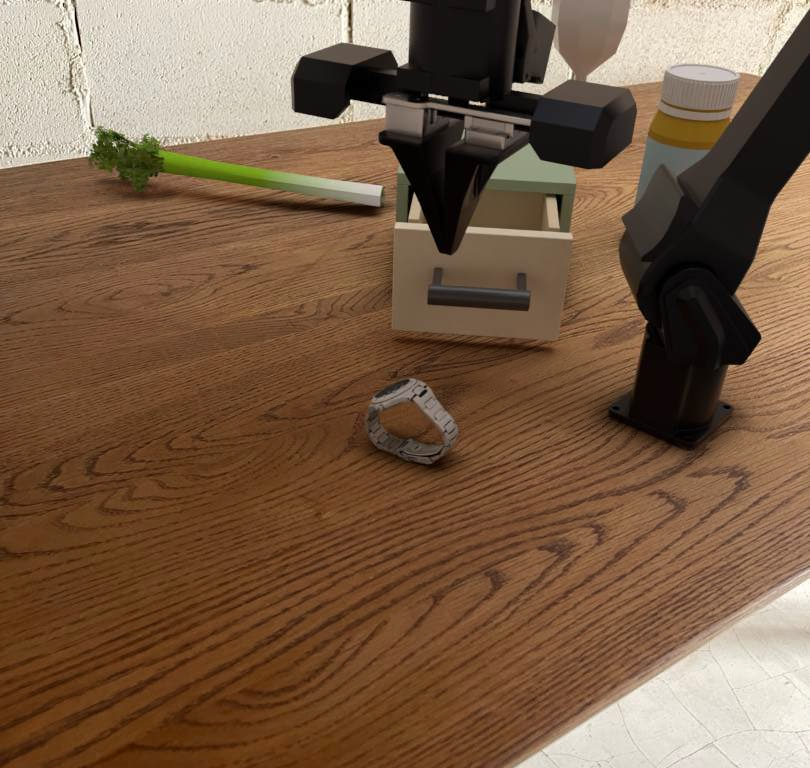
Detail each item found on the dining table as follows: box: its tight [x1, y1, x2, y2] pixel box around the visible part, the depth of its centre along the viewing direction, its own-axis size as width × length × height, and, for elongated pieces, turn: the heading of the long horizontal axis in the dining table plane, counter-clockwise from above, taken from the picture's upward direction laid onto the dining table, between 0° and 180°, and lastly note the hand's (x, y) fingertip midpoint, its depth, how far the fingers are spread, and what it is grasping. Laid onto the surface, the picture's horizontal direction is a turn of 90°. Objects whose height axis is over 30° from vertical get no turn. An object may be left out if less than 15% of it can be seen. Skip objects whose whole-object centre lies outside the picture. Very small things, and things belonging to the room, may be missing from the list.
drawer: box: [391, 190, 574, 342], centre depth 70 cm, size 17×13×8 cm
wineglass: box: [550, 0, 632, 82], centre depth 105 cm, size 9×9×21 cm
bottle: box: [633, 63, 741, 207], centre depth 83 cm, size 7×7×15 cm
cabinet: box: [395, 129, 577, 233], centre depth 79 cm, size 14×14×10 cm
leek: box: [84, 125, 386, 208], centre depth 92 cm, size 6×7×30 cm
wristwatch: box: [364, 378, 459, 465], centre depth 58 cm, size 4×6×5 cm, turn 59°
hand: (448, 252), depth 57 cm, fingers closed
